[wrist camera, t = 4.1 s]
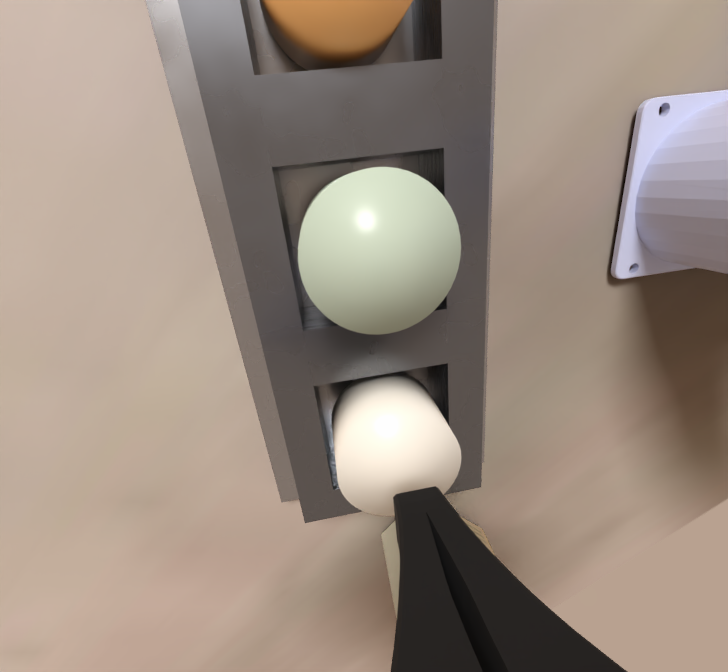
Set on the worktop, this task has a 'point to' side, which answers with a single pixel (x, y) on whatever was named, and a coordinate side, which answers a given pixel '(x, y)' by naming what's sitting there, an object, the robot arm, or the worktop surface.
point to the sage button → (378, 250)
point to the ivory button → (390, 442)
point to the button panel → (306, 178)
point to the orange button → (333, 29)
